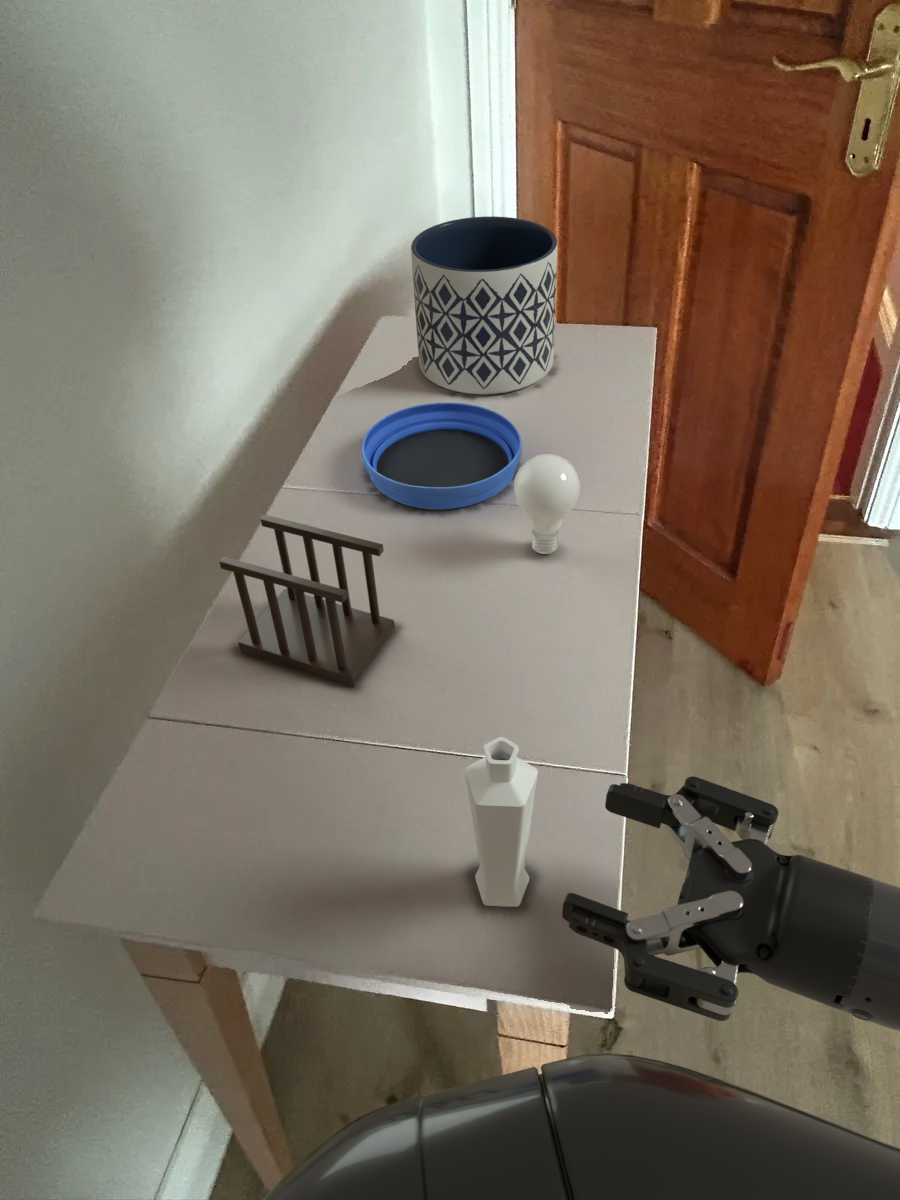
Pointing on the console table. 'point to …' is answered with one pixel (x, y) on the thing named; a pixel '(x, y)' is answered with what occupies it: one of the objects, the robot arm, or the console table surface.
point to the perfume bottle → (501, 821)
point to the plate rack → (313, 609)
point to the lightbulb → (546, 497)
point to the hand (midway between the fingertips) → (586, 848)
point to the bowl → (442, 455)
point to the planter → (485, 303)
